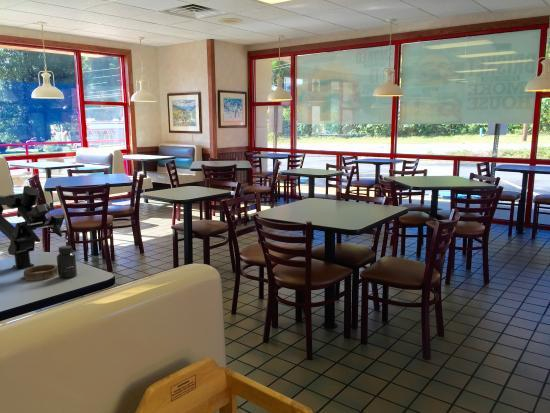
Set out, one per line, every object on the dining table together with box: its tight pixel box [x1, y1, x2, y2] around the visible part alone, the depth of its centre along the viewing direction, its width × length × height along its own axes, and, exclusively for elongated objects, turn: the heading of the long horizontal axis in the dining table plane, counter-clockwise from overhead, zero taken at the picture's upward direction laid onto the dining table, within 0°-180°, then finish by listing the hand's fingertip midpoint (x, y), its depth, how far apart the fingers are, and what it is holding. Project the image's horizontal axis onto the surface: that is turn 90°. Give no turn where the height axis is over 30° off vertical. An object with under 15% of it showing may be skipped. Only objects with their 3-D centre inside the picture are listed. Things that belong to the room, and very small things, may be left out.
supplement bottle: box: [56, 245, 78, 280], centre depth 184 cm, size 7×7×12 cm
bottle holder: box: [22, 264, 58, 282], centre depth 187 cm, size 12×12×3 cm
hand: (50, 238), depth 186 cm, fingers open, 9 cm apart
